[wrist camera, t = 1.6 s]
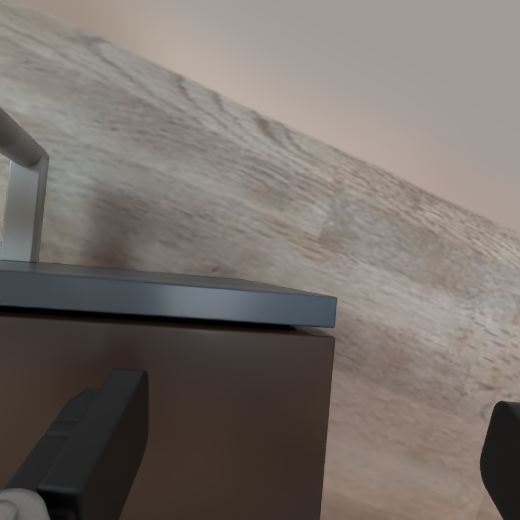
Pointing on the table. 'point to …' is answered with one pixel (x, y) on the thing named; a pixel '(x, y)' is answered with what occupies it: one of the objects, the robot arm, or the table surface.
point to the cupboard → (182, 406)
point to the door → (122, 280)
